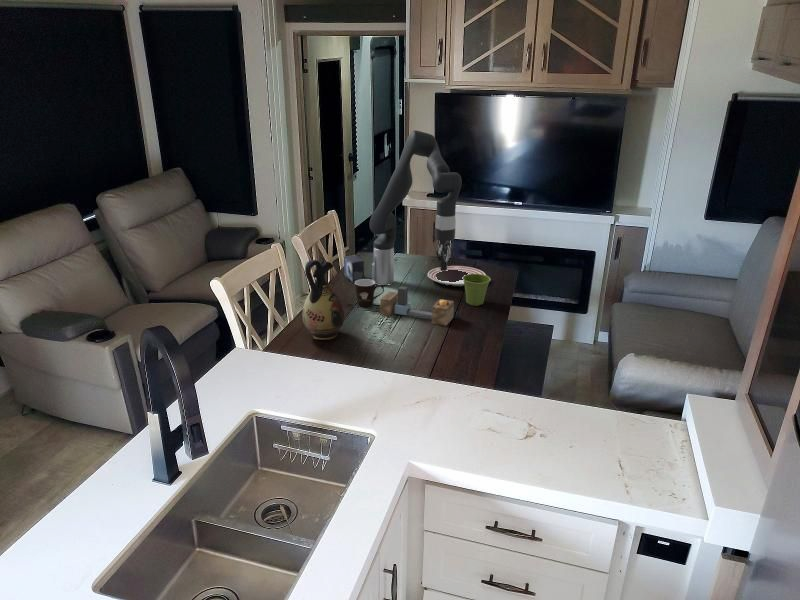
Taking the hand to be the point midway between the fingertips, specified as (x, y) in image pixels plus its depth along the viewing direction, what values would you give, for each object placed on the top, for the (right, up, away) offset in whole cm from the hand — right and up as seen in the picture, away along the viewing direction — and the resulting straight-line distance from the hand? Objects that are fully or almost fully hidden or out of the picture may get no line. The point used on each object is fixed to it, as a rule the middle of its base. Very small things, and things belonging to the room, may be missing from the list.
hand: (443, 270), depth 227 cm
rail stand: (-10, -18, +11) cm, 23 cm away
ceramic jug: (-46, -25, -6) cm, 53 cm away
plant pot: (+15, -13, +25) cm, 32 cm away
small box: (-39, -2, +52) cm, 65 cm away
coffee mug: (-30, -14, +22) cm, 40 cm away
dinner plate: (+10, -2, +52) cm, 53 cm away
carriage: (-16, -17, +13) cm, 27 cm away
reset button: (0, -15, +6) cm, 16 cm away
